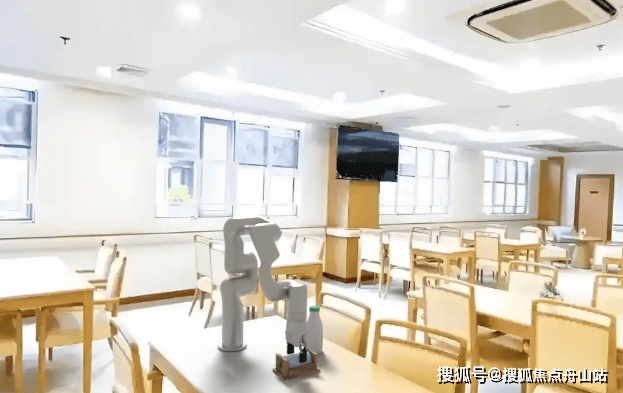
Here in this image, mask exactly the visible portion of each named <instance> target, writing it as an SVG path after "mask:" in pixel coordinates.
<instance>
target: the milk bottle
mask: <svg viewBox="0 0 623 393" xmlns="http://www.w3.org/2000/svg"><path fill="white" fill-rule="evenodd" d="M320 309H321V308H320V306H319V305H311V306H309V309H308V310H309V311H308V312H309V315H308V317H307V319H306V321H307V334H308V339H307V340H308V342H309V343H310V346H309V349H311V350H312V351H314V352H316V353H317V355H319V354H322V352H323V341H324V340H323V339H324V338H323V335H324V332H323V331H324V326H323V322H322V319H321V317H320V316H321V315H320V313H321V312H320Z"/></svg>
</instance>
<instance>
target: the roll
mask: <svg viewBox="0 0 623 393" xmlns="http://www.w3.org/2000/svg"><path fill="white" fill-rule="evenodd" d="M299 353H300V351H299V352H294V353H293V354H289V355H288V354H287V355H282V356H283V357H285V358H286V359H287V360H288V369H291V368H295V367H299V366H303V365H307V364H311V356H310V354H309V352H307V362H304V363H299Z"/></svg>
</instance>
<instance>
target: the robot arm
mask: <svg viewBox="0 0 623 393" xmlns="http://www.w3.org/2000/svg"><path fill="white" fill-rule="evenodd" d="M222 233H223V238H224V254H223V255H224V261H223V262H224V263H223V264H224V265H223V266H224V271H225V273H226V274H228V275H234V276H230V277H227V278H224V279H223V280H222V281H221V283H220V287H219V290H220V296H221V297H220V298H221V315H222V316H221V341H220V342H218V345H217V347H218V349H219V350H221V351H224V352H238V351H242V350H243V349H245V348H247V345H248V344H247V342H246V341H245V340H244V316H245V315H244V311H245V310H244V309H245V308H244V304H243V301H241V298H242V297H246V296H250V295H252V294H254V293H255V292H256V290H257V287H258V282H259V285H260V288H261V290H262V292H263V295H264V296H265V298H266V299H267V300H268V301H270V302H273V303H274V302H278V301H279V302H280V301H283V300H287V319H286V324H285V330H284V332H285V341H286V354H287V355H290V354H295V347H296V348H298V349H299V352H300V353H299V352H298V353H299V363H304V362H307V352H308V350H309V346H310V343H309V342H308V340H307V339H308V334H307V320H308V285H307V284H306V283H303V282H297V281H295V280H293V279H290V278H289V279H288V278H287V279H283V280H277V281H275V279H274V278H273V275H272V265H273V263H275V262H276V261H277V260H278V259H279V258H280V251H279V249H278V246H277V244H276V242H278V241H280V239H281V237H282V230H281V228H280V226H279V225H278V224H277V223H276V222H274V221H272V220H270V219H267V218H264V217H263V216H260V215H239V216H237V215H236V216H233V217H230V218H228V219H227V220H226V221H225V222H224V224H223V229H222ZM241 236H250V239H251V241H252V245H253V246H254V249H255V251H256V253H257V256H258V258H259V261H260V265H259V266H258V264H259V263H258V262H259V261H258V258H257V256H256V255H255V253H254V252H253V251H250V250H249V251H248V250H247V251H246V250H244V249H245V248H244V247H245V243H244V241H243V238H242V237H241ZM258 267H259V268H258ZM239 274H241V275H239Z"/></svg>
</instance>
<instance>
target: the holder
mask: <svg viewBox="0 0 623 393" xmlns="http://www.w3.org/2000/svg"><path fill="white" fill-rule="evenodd" d="M308 352H309V354H310V356H311V364H307V365H303V366H299V367H295V368H291V369H288V360H287V359H286V358H285V357H283V356H284V355H282V354H280V353H275V367H273V368H272V372H274V373H275V374H276V375H277V376H278V377H280V378H281V379H282V380H283V381H288V380H293V379H296V378H300V377H304V376H308V375H312V374H313V375H314V374H317V373H320V372H321V368H319V367H318V354H317V353H316V352H314V351H312V350H311V349H309V350H308Z"/></svg>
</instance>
